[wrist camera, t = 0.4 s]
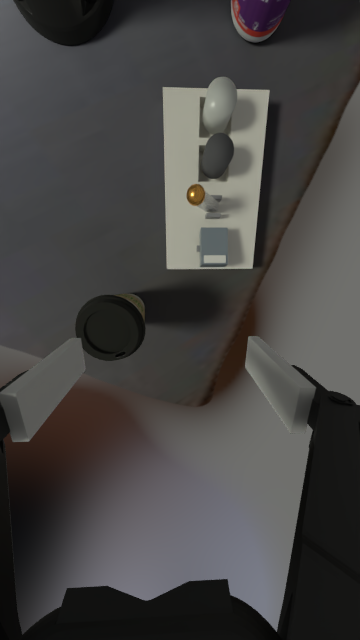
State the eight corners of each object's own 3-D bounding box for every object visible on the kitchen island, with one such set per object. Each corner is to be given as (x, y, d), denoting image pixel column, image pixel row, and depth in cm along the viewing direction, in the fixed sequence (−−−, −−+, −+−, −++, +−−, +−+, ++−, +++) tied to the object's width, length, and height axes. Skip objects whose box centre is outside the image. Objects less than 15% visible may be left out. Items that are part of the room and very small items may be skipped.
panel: (163, 102, 32) (162, 77, 28) (260, 105, 33) (274, 80, 28) (167, 268, 39) (166, 269, 35) (246, 268, 40) (255, 268, 35)
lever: (206, 200, 33) (183, 182, 26) (221, 197, 32) (201, 178, 25) (205, 217, 34) (183, 204, 27) (220, 215, 33) (200, 202, 26)
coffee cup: (140, 276, 40) (121, 284, 25) (161, 319, 42) (155, 348, 28) (97, 296, 40) (55, 315, 26) (120, 337, 43) (94, 375, 29)
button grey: (202, 100, 30) (206, 76, 26) (230, 100, 30) (238, 77, 26) (201, 134, 31) (205, 116, 27) (228, 134, 31) (236, 116, 27)
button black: (201, 148, 31) (205, 132, 28) (227, 148, 32) (235, 132, 28) (200, 178, 33) (204, 167, 29) (225, 179, 33) (233, 168, 29)
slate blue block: (199, 232, 34) (201, 226, 32) (224, 232, 35) (227, 226, 32) (199, 267, 34) (201, 263, 32) (224, 267, 35) (228, 263, 32)
